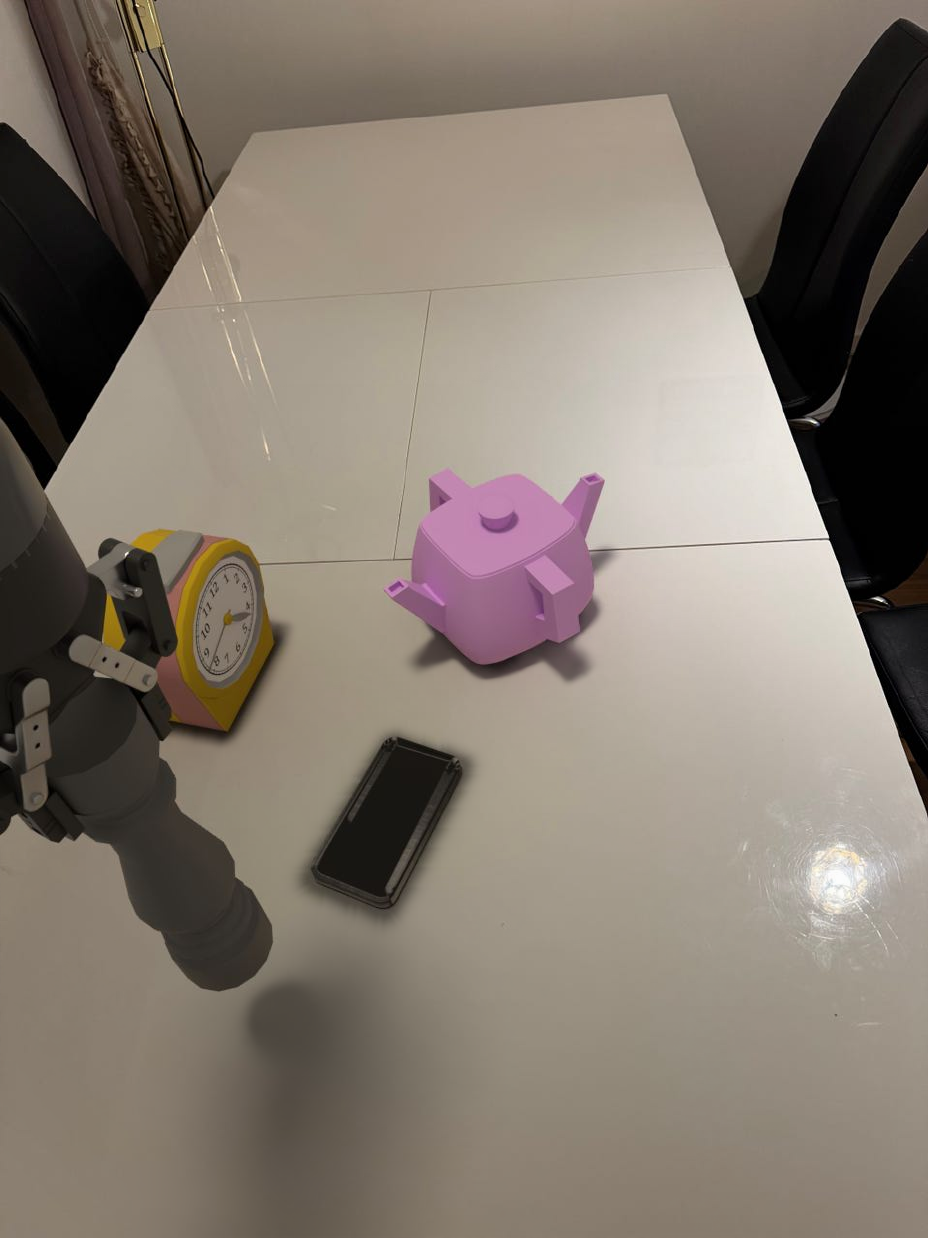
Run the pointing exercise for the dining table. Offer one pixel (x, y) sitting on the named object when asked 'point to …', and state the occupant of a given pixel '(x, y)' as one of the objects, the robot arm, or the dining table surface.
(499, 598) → the teapot
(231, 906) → the candle holder
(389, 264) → the dining table surface
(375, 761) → the phone
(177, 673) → the alarm clock
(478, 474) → the dining table surface
